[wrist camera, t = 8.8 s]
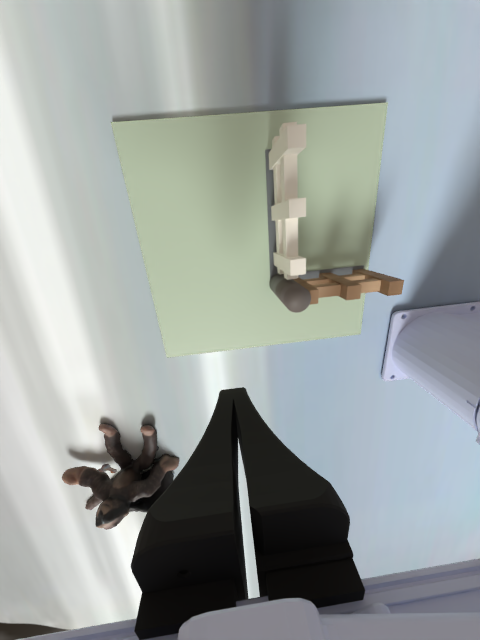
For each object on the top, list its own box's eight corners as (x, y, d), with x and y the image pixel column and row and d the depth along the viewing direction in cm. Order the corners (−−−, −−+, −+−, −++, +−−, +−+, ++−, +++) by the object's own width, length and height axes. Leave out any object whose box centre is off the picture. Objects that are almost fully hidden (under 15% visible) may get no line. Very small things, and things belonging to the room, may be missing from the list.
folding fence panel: (285, 269, 20) (305, 281, 15) (274, 270, 19) (290, 283, 15) (282, 143, 16) (306, 111, 12) (268, 144, 16) (287, 113, 12)
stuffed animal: (185, 430, 25) (161, 567, 22) (186, 414, 34) (169, 508, 31) (64, 418, 23) (19, 568, 20) (100, 404, 32) (73, 505, 29)
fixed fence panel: (362, 263, 21) (408, 274, 16) (360, 283, 21) (403, 300, 16) (268, 273, 20) (284, 288, 15) (268, 293, 21) (285, 314, 16)
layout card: (384, 104, 17) (388, 101, 16) (358, 332, 23) (361, 334, 23) (112, 124, 16) (110, 121, 15) (167, 356, 22) (166, 358, 22)
